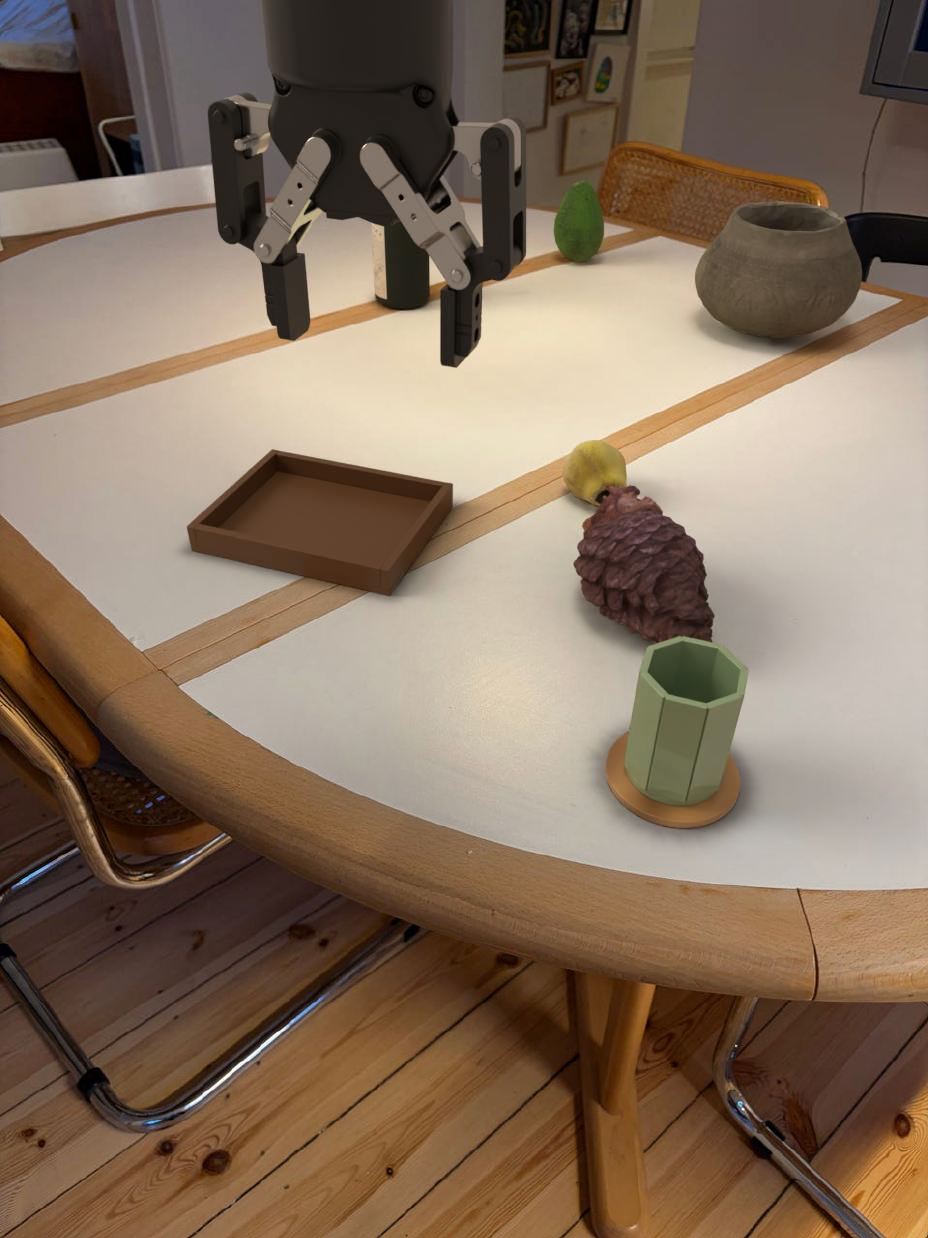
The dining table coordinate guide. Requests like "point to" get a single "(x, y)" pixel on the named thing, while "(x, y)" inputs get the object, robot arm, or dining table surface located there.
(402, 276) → the wine bottle
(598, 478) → the fruit
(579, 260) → the fruit
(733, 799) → the coaster
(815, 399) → the dining table surface
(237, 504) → the tray
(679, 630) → the pine cone
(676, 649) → the cup
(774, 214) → the clay pot
